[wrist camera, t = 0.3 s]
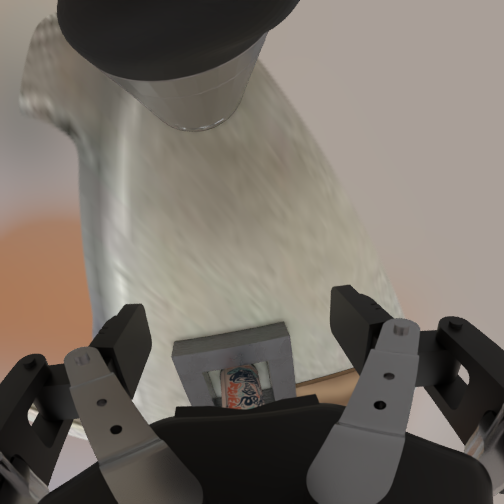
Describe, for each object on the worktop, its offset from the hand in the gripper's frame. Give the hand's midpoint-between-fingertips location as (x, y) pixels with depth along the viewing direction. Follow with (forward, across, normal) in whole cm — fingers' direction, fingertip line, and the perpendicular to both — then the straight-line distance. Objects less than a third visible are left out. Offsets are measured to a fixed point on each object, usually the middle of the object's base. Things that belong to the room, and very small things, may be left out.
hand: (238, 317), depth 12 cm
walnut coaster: (+19, -12, +26) cm, 34 cm away
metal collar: (+19, +1, +18) cm, 26 cm away
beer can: (+19, +1, +18) cm, 26 cm away
